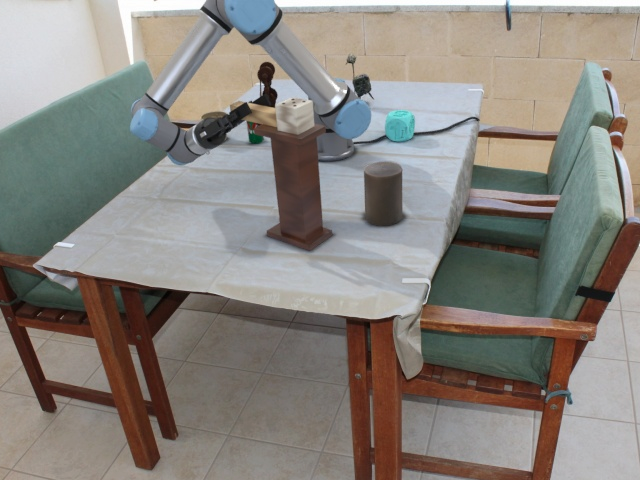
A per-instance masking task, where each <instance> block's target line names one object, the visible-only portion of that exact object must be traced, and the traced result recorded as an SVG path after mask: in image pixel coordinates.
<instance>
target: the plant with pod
mask: <svg viewBox="0 0 640 480" xmlns="http://www.w3.org/2000/svg"><path fill="white" fill-rule="evenodd" d="M345 61H346V62H345V65H346V66H347V65H348V64H351V67H352V81H351V82H352V85H353V92H354V93H355V95H356V96H357V97H358V98H359V99H361V100H362V98H361V97H363V96H364V95H369V97H370V98H371V99H372V100H375V97H374V96H373V95H372V94H371V91H372V84H371V79H370V77H369V76H370V75H368V74H367V73H361V74H357V75H356V76H355V65H354V64H356V61H357V55H356V54H353V53H352V52H351V53H348V55H347V58H346V60H345Z"/></svg>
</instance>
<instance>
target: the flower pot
mask: <svg viewBox="0 0 640 480" xmlns="http://www.w3.org/2000/svg"><path fill="white" fill-rule="evenodd" d="M225 114H229V112H226V111H223V110H222V111H221V110H215V111H208V112H205V113H203V114H202V115H200V117H199V119H200V120H201V121H202V120H204V119H205V118H208V117H212V118H216V119H218V118H219V117H221V118H222V117H223V116H224V115H225ZM227 134H228V133H226V139H225V141H226V140H227V139H228V135H227Z"/></svg>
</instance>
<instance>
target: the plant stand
mask: <svg viewBox="0 0 640 480" xmlns="http://www.w3.org/2000/svg"><path fill="white" fill-rule="evenodd" d="M325 132H326V126H322V125H318V124H314V127H313V128H311V129H309V130H307V131H305V132H303V133H301V134H299V135H296V134H291V133H287V132H282V131H278V129H277V127H273V126H268V125H264V124H262V125H260V126H258V127H256V128H254V134H255V135H259V136H263V137H264V138H268V139H270V146H271V155H272V165H273V172H274V182H275V191H276V192H275V193H276V200H277V201H276V202H277V209H278V220H279V222H278V223H277V224H275V225H273V226H272V227H270V228H269V229H267V230H266V237H269V238H272V239H274V240H276V241H277V240H278V241H281V242H283V243H286V244H289V245H292V246H295V247H297V248H301V249H303V250H306V251H310V252H311V251H312V250H314V249H315V248H316V247H318V246H319V245H321V244H322V243H323V242H325V241H326V240H328V239H329V238H331V237H332V236H333V229H330V228H327V227H324V223H323V222H324V221H323V220H324V219H323V208H322V207H323V206H322V194H321V193H322V192H321V179H320V166H319V160H318V149H317V137H318V136H320V135H322V134H324V133H325Z"/></svg>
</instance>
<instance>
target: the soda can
mask: <svg viewBox="0 0 640 480" xmlns="http://www.w3.org/2000/svg"><path fill="white" fill-rule="evenodd" d="M245 121H246V120H245ZM245 123H246V128H247V129H246V130H247V136H248V142H249V143H250V144H253V145H259V144H262V143H263V142H264V140H265V137H264V136H259V135H255V134H254V128H256V127H258V126H260V125H262V124H259V123H255V122H250V121H246V122H245Z"/></svg>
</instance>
